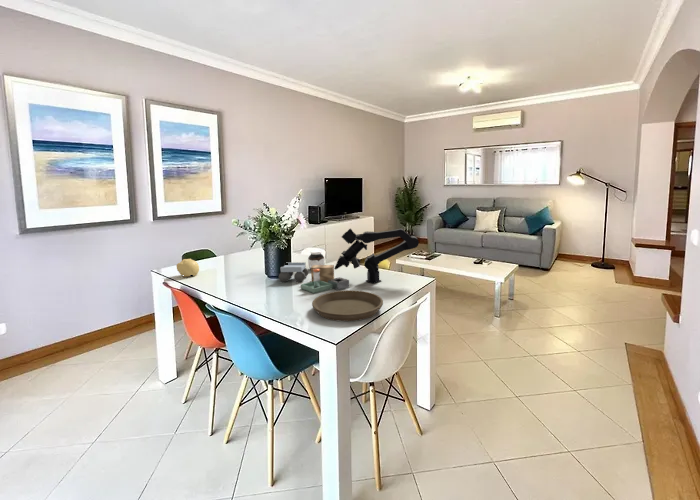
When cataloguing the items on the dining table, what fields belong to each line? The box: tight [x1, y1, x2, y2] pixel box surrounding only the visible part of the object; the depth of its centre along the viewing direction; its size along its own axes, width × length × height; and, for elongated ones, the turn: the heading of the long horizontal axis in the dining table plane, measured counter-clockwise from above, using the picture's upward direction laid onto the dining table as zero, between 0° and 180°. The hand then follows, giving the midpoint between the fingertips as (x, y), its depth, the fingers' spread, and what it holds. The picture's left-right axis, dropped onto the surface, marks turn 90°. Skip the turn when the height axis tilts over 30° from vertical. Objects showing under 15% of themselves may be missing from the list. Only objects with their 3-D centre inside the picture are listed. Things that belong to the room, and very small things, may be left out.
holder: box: [328, 276, 350, 291], centre depth 197 cm, size 8×8×4 cm
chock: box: [310, 264, 335, 283], centre depth 208 cm, size 12×6×9 cm, turn 86°
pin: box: [313, 269, 320, 288], centre depth 194 cm, size 4×4×10 cm
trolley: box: [278, 262, 309, 283], centre depth 214 cm, size 15×12×9 cm
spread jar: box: [307, 249, 326, 270], centre depth 236 cm, size 12×11×12 cm
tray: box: [300, 280, 334, 295], centre depth 195 cm, size 12×12×2 cm
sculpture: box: [176, 258, 200, 278], centre depth 229 cm, size 11×12×11 cm
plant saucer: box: [311, 289, 384, 322], centre depth 162 cm, size 31×31×5 cm
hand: (335, 268), depth 207 cm, fingers closed
